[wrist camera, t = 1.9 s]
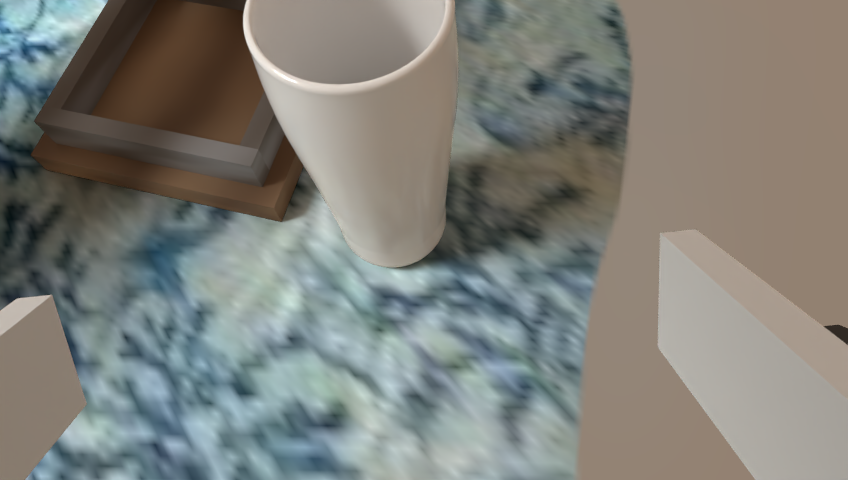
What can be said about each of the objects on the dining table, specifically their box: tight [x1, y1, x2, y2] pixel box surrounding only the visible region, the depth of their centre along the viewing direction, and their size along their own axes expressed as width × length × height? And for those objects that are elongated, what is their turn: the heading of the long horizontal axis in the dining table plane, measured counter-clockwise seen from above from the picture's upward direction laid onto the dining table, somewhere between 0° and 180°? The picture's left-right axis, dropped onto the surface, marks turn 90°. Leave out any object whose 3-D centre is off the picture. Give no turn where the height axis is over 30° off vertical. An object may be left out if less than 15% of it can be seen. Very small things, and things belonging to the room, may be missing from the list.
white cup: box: [243, 0, 459, 267], centre depth 27 cm, size 7×7×15 cm
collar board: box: [31, 0, 304, 222], centre depth 36 cm, size 14×14×4 cm
